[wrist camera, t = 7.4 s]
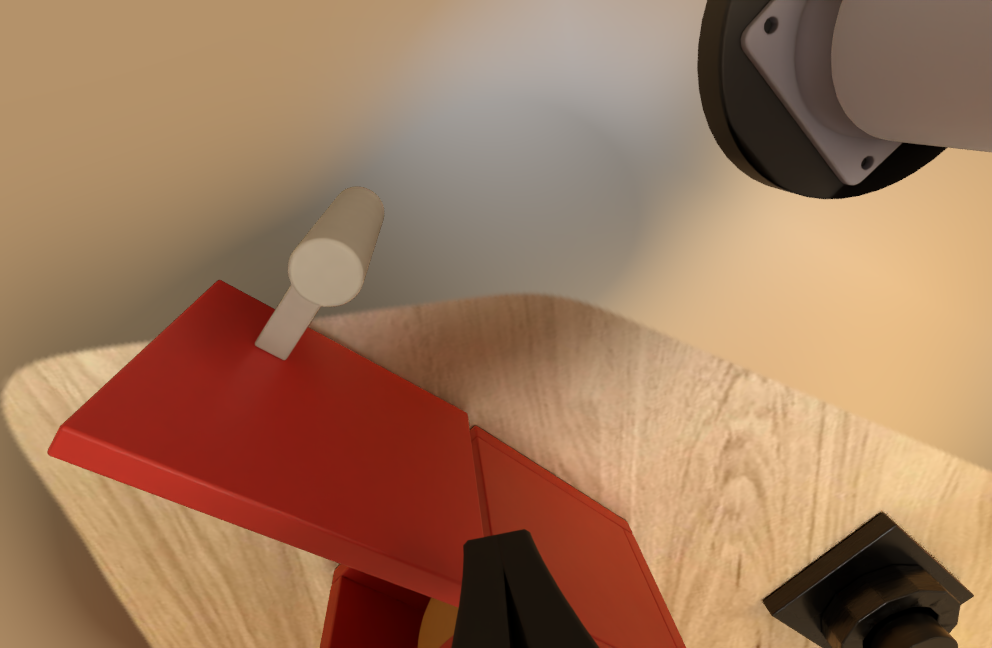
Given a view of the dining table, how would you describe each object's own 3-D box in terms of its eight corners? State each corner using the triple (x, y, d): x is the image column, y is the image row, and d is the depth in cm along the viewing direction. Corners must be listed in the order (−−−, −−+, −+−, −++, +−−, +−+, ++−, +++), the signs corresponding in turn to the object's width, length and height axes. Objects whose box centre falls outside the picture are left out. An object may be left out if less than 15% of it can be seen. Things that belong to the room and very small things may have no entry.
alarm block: (882, 511, 26) (925, 551, 24) (960, 582, 30) (1004, 622, 28) (761, 600, 28) (791, 645, 26) (848, 657, 32) (881, 700, 29)
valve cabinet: (333, 570, 23) (288, 806, 15) (475, 423, 20) (504, 619, 13) (491, 639, 26) (517, 859, 19) (627, 521, 24) (720, 719, 16)
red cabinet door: (303, 130, 15) (190, 169, 8) (557, 304, 18) (642, 442, 11) (208, 296, 17) (43, 455, 9) (456, 426, 20) (474, 615, 13)
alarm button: (908, 595, 26) (940, 628, 24) (938, 619, 27) (970, 652, 26) (851, 635, 27) (877, 669, 25) (882, 656, 28) (909, 690, 27)
